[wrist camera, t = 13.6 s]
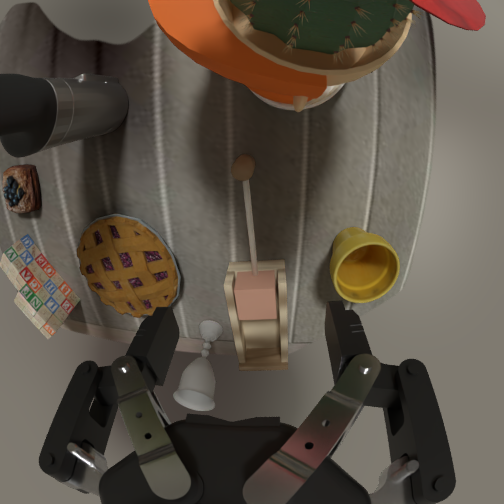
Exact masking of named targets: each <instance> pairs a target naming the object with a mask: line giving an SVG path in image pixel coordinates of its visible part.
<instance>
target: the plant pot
mask: <svg viewBox="0 0 504 504" xmlns="http://www.w3.org/2000/svg"><path fill="white" fill-rule="evenodd" d="M399 270H400V262H399V258H398V255H397V253H396V252H395V250H394V249H393V248H392V247H391V245H390V244H389V243H388V242H387V241H386V240H385V239H383V238H382V237H380V236H378V235H376V234H372V233H367V232H365V231H364V230H362V229H360V228H357V227H350V228H347V229H344V230H343V231H341V232H340V233H339V234H338V235H337V236H336V238H335V240H334V242H333V255H332V258H331V261H330V274H331V278H332V282H333V285H334V287H335V289H336V291H337V293H338V294H339V295H340V296H341V297H342V298H344V299H345V300H347V301H350V302H354V303H366V302H371V301H373V300H376V299H378V298H380V297H381V296H383V295H384V294H386V293H387V292H388V291H389V290H390V289H391V288H392V286H393V285H394V283H395V282H396V280H397V277H398V275H399Z"/></svg>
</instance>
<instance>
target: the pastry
mask: <svg viewBox="0 0 504 504" xmlns="http://www.w3.org/2000/svg"><path fill="white" fill-rule="evenodd" d="M3 174H4V176H3V192H4V197H5V199H6V205H7V209H9V211H12V212H15V213H29V212H31V211H34V210H39V208H40V207H41V193H40V185H39V180H38V174H37V171H36V166H35V165H28V164H25V165H17V166H12V167H10V168H8V169H7V170H6V171H5V172H4V173H3Z"/></svg>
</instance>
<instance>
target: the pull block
mask: <svg viewBox="0 0 504 504" xmlns="http://www.w3.org/2000/svg"><path fill="white" fill-rule="evenodd" d="M254 168H255V160H254V158H253V157H252V156H251V155H249V154H242V155H240V156H239V157H238V158H237V159H236V161H235V162H234V163H233V165H232V167H231V173H232V175H233V177H234V178H235V179H237V180H239V181H242V182H243V191H244V200H245V209H246V219H247V228H248V237H249V246H250V255H251V264H252V271H247V272H237V277H236V282H235V288H234V293H235V299H236V305H237V311H238V317H239V320H261V319H277V310H276V286H275V270H266V271H258V265H257V255H256V245H255V235H254V225H253V215H252V205H251V195H250V185H249V179H250V178H251V177H252V175H253V172H254Z"/></svg>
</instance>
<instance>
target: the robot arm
mask: <svg viewBox="0 0 504 504" xmlns="http://www.w3.org/2000/svg"><path fill="white" fill-rule="evenodd" d="M127 110H128V96H127V94H126V91H125V90H124V88H123V87H122V86H121V85H120V84H119V82H118V78H116V77H109V76H101V75H93V74H82V75H79V76H77V77H75V78H73V79H72V78H32V77H28V76H24V75H20V74H0V140H1V143H2V145H3V147H4V149H5V150H6V151H7V152H8V153H9V154H10V155H11V156H14V157H25V156H28V155H31V154H34V153H37V152H40V151H43V150H46V149H49V148H53V147H56V146H59V145H63V144H66V143H70V142H74V141H78V140H82V139H86V138H90V137H94V136H99V135H104V134H107V133H110V132H112V131H114V130H115V129H117V128H118V127H119V126H120V125H121V124H122V122H123V121H124V119H125V116H126V114H127ZM325 336H326V341H327V346H328V351H329V357H330V362H331V367H332V373H333V379H334V384H335V386H334V387H333V389H332V390H331V391H330V392H329V391H328V392H327V393H326V394H325V395H324V396H323V397H322V399H321V400H320V401H319V403H318V404H317V405H316V407H315V408H314V409H313V410H312V412H311V413H310V414H309V416H308V417H307V418H306V419H305V421H304V422H303V423H302V424H301V425H300V427H299V428H296V427H294V426H291V425H288V424H285V423H280V417H255V418H250V419H245V420H240V421H235V422H229V421H226V420H222V419H218V418H215V417H212V416H209V415H197V414H187V417H186V419H185V420H180V421H177V422H174V423H172V424H171V422H170V421H169V419H168V418H167V416H166V414H165V412H164V410H163V408H162V406H161V404H160V402H159V400H158V398H157V396H156V394H155V392H154V387H155V385H159V386H163V384H164V381H165V378H166V375H167V371H168V369H169V365H170V363H171V360H172V357H173V354H174V351H175V348H176V345H177V342H178V339H179V327H178V325H177V322H176V319H175V316H174V313H173V310H172V308H171V307H156V309H155V310H154V312H153V314H152V316H148V317H147V318H146V319H145V320H144V321H143V322H142V323H141V325H140V327H139V330H138V331H137V333H136V336H135V337H134V339H133V341H132V343H131V345H130V347H129V349H128V351H127V353H126V355H125V356H121V357H119V358H117V359H116V360H115V361H114V362H113V363H112V365H111V366H105V367H98V366H97V364H96V363H95V362H94V361H85V362H83V363H81V364H80V365H79V366H78V367H77V369H76V371H75V373H74V375H73V377H72V379H71V381H70V383H69V385H68V388H67V390H66V392H65V394H64V396H63V398H62V401H61V403H60V405H59V407H58V410H57V412H56V414H55V417H54V419H53V422H52V424H51V427H50V429H49V432H48V434H47V437H46V439H45V442H44V445H43V448H42V451H41V453H40V456H39V465H40V467H41V469H42V470H43V471H44V472H45V473H46V474H48V475H50V476H51V477H53V478H55V479H56V480H58V481H59V482H61V483H63V484H65V485H67V486H68V487H70V488H73V489H76V490H78V491H80V492H82V493H92V494H95V495H97V496H100V499H101V503H102V504H435V503H438V502H440V501H443V500H445V499H446V498H447V497H448V496H449V495H450V494H451V493H452V492H453V490H454V488H455V483H456V479H455V473H454V467H453V462H452V457H451V452H450V447H449V443H448V439H447V435H446V431H445V427H444V423H443V419H442V416H441V413H440V409H439V406H438V402H437V399H436V396H435V393H434V390H433V387H432V384H431V381H430V378H429V375H428V372H427V370H426V367H425V365H424V364H423V363H422V362H420V361H419V360H416V359H407V360H405V361H403V362H402V363H401V364H400V366H395V365H387V364H383V363H380V361H379V360H378V359H377V358H376V357H375V356H373V355H372V353H371V350H370V347H369V344H368V341H367V338H366V335H365V332H364V329H363V326H362V325H361V321H360V318H359V316H358V315H357V314H356V313H355V312H354V311H353V310H345V307H344V304H343V302H342V301H330V302H327V307H326V318H325ZM93 398H94V401H93V403H92V406H91V408H90V411H89V407H90V405H91V402H92V400H93ZM118 406H119V409H120V412H121V415H122V418H123V420H124V423H125V426H126V429H127V431H128V434H129V436H130V439H131V441H132V443H133V446H134V448H135V451H134V452H132V453H131V454H129V455H128V456H126V457H125V458H124V459H122V460H121V461H120V462H118V463H117V464H115V465H114V466H112V467H111V468H110V469H108V467H107V461H106V458H105V457H104V452H105V449H106V445H107V441H108V438H109V435H110V431H111V428H112V425H113V422H114V419H115V415H116V412H117V409H118ZM364 406H372V407H382V408H383V411H384V417H385V422H386V429H387V435H388V442H389V449H390V456H391V464H390V465H389V466H388V467H387V468H386V469H385V470H384V471H383V472H382V473H381V475H380V478H379V484H378V487H377V489H376V490H375V492H374V493H372V494H368V492H367V491H366V489H365V488H364V487H363V486H362V485H360V484H359V483H358V482H357V481H356V480H355V479H353V478H352V477H351V476H350V475H349V474H348V473H346V472H345V471H344V470H343V469H342V468H341V467H340V466H339V465H338V464H337V463H335V462H334V461H333V460H332V459H331V457H332V456H333V455H334V453H335V452H336V451H337V449H338V447H339V446H340V445H341V443H342V442H343V440H344V438H345V437H346V435H347V434H348V432H349V430H350V429H351V427H352V426H353V424H354V422H355V421H356V419H357V418H358V416H359V414H360V412H361V411H362V409H363V408H364Z"/></svg>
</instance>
